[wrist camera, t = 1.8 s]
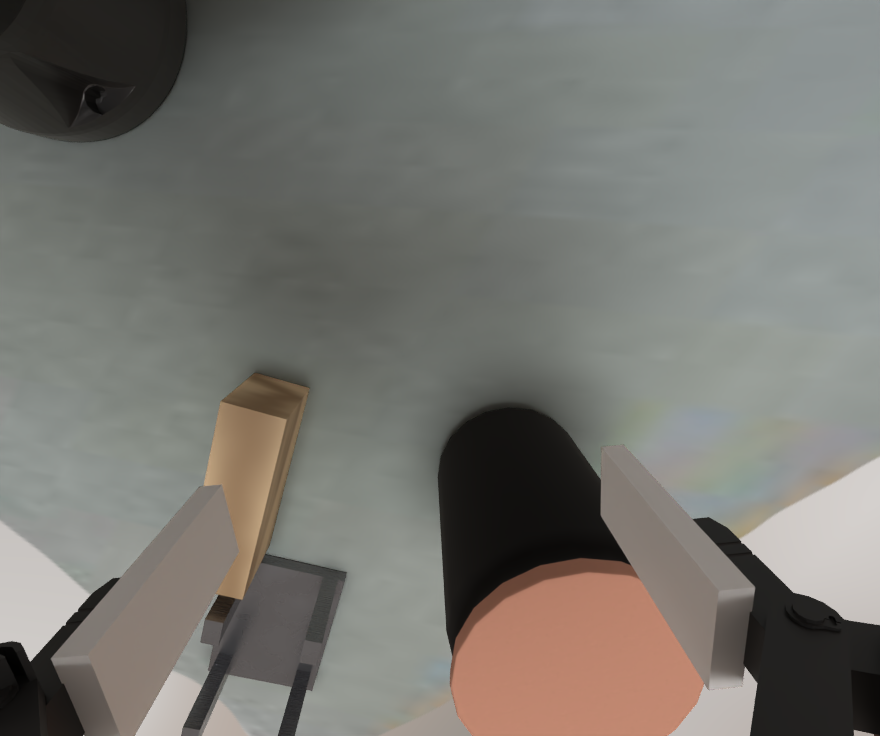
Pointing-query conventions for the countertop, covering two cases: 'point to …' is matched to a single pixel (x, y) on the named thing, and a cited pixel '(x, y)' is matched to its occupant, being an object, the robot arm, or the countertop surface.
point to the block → (254, 466)
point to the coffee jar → (547, 594)
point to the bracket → (270, 635)
